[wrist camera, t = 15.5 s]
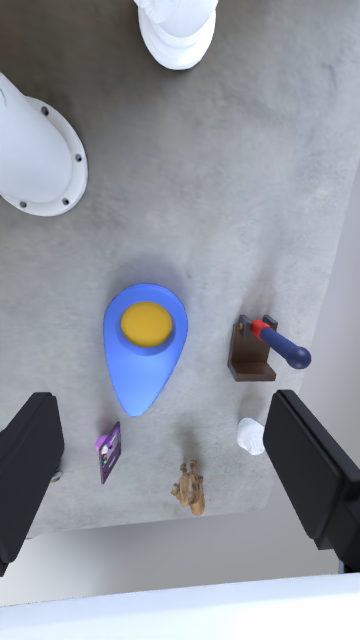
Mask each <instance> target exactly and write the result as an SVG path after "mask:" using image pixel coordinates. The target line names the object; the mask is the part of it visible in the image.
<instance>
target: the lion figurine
mask: <svg viewBox="0 0 360 640" xmlns="http://www.w3.org/2000/svg"><path fill="white" fill-rule="evenodd" d="M190 464H191V465H190V466H191V468H192V474H191V473H190V472H189V473H187V469H186V467H185V466H181V467H180V470H182V471H183V475H182V477H181V478H180V479H179V484H176V483H174V487H173V488H172V491H171V494H173V495H175V496H176V497H177V499H179V500H180V503H181V505H182V506H189V505H190V506H191V510H192V513H193V514H194V515H197V516H200V515H201V514H202V513H203V511H204V506H205V505H204V495H203V491H202V482H203V478H199V479H198V475H197V471H196V468H195V464H196V462H195V461H191V462H190Z"/></svg>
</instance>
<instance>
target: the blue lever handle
mask: <svg viewBox="0 0 360 640" xmlns="http://www.w3.org/2000/svg"><path fill="white" fill-rule="evenodd" d="M250 331H251V332H252V333H253V334H254V335H255V336H256V337H257V338H259V339H260V340H261V341H264V342H265V343H267V344H268V345H269V346H270V347H271V348H273V349H274V350H275V351H276V352H277V353H279V354H280V355H281V356H282V357H283V358H285V359H286V361H287V363H288V364H289V365H290V366H291V367H292V368H295V369H304V368H306V367H308V366H309V364H310V362H311V355H310V353H309V351H308V350H306V349H305V348H303V347H299V346H297V345H295V344H294V343H292V342H291V341H289V340H288V339H286V338H285V337H283V336H282V335H280V334H279V333H277V332H276V331H274V330H273V328H272V327H271V326H269V325H267V324H266V323H264V322H263V321H261V320H259V319H256V320H253V321H252V324H251V329H250Z"/></svg>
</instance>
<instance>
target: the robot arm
mask: <svg viewBox="0 0 360 640" xmlns="http://www.w3.org/2000/svg"><path fill="white" fill-rule="evenodd" d="M48 112H49V114H48V115H47V113H48ZM79 158H82V160H81V162H79ZM87 177H88V166H87V159H86V155H85V151H84V148H83V146H82V143H81V141H80V139H79V137H78V135H77V134H76V132H75V130H74V129H73V128H72V126H71V125H70V124H69V123H68V121H67V120H66V119H65V118H64V117H63V116H62V115H61V114H60V113H59V112H58V111H56V110H55V109H54V108H52V107H51V106H50V105H48V104H46V103H44V102H42V101H40V100H38V99H35V98H31V97H27V96H24V95H23V94H22V93H21V92H20V91H19V90H18V89H17V88H16V87H15V86H14V85H13V84H12V83H11V82H10V81H9V80H8V79H7V78H6V77H5V76H4V75H3V74H2V73H1V72H0V195H1V196H2V197H3V198H4V199H5V200H6V201H8V202H9V203H11V204H12V205H13V206H15V207H16V208H18V209H20V210H22V211H24V212H27V213H30V214H33V215H39V216H55V215H60V214H62V213H65V212H67V211H69V210H70V209H71V208H73V207H74V206H75V205H76V204H77V203H78V201H79V200H80V199H81V197H82V195H83V193H84V191H85V187H86V184H87ZM67 201H69V204H67V203H66V202H67ZM25 204H27V207H26V206H25ZM262 440H263V445H264V448H265V450H266V452H267V454H268V456H269V458H270V460H271V462H272V464H273V466H274V468H275V470H276V472H277V474H278V476H279V478H280V480H281V482H282V484H283V486H284V488H285V491H286V492H287V495H288V497H289V499H290V501H291V503H292V505H293V507H294V509H295V511H296V513H297V515H298V517H299V519H300V521H301V523H302V525H303V527H304V530H305V531H306V533H307V535H308V536H309V537H310V538H311V539H313V540H314V542H315V544H316V546H317V548H318V550H325V549H334V551H335V553H336V555H337V556H338V558H339V571H338V574H331V575H316V576H304V577H293V578H281V579H270V580H260V581H247V582H236V583H227V584H215V585H204V586H194V587H184V588H174V589H163V590H152V591H142V592H131V593H122V594H112V595H102V596H93V597H83V598H73V599H63V600H53V601H42V602H35V603H26V604H19V605H10V606H2V607H0V640H360V469H359V468H358V467H357V466H356V465H355V464H354V462H353V461H352V460H351V459H350V458H349V456H348V455H347V454H346V453H345V452H344V450H343V449H342V448H341V447H340V446H339V445H338V443H337V442H336V441H335V440H334V439H333V437H332V436H331V435H330V434H329V433H328V432H327V430H326V429H325V428H324V427H323V426H322V424H321V423H320V422H319V421H318V420H317V419H316V417H315V416H314V415H313V414H312V413H311V411H310V410H309V409H308V408H307V407H306V406H305V405H304V403H303V402H302V401H301V400H300V399H299V397H298V396H297V395H296V394H295V393H294V391H292V390H277V392H276V393H274V394H273V396H272V401H271V405H270V409H269V413H268V417H267V421H266V425H265V429H264V433H263V438H262ZM63 451H64V439H63V433H62V427H61V422H60V416H59V410H58V405H57V399H56V397H55V396H52V394H51V393H50V392H35V393H33V394H32V395H31V397H30V398H29V399H28V401H27V402H26V403H25V404H24V406H23V407H22V408H21V409H20V411H19V412H18V413H17V414H16V416H15V417H14V418H13V419H12V421H11V422H10V423H9V424H8V426H7V427H6V428H5V429H4V430H2V431H1V432H0V577H3V575H4V573H5V571H6V569H7V567H8V564H9V563H11V562H13V561H14V560H15V559H16V557H17V555H18V553H19V551H20V549H21V547H22V545H23V542H24V540H25V538H26V535H27V533H28V531H29V529H30V526H31V524H32V522H33V520H34V517H35V515H36V513H37V511H38V508H39V506H40V504H41V502H42V499H43V497H44V495H45V493H46V490H47V488H48V486H49V484H50V481H51V479H52V477H53V475H54V472H55V470H56V468H57V465H58V463H59V461H60V459H61V456H62V454H63Z"/></svg>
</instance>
